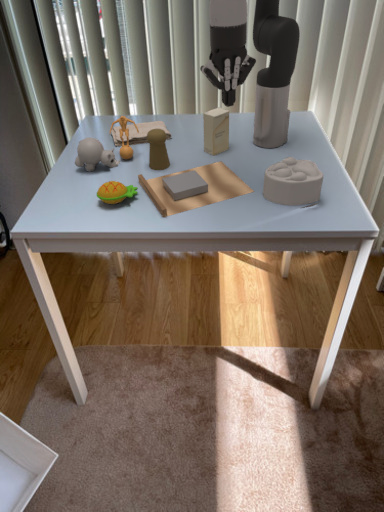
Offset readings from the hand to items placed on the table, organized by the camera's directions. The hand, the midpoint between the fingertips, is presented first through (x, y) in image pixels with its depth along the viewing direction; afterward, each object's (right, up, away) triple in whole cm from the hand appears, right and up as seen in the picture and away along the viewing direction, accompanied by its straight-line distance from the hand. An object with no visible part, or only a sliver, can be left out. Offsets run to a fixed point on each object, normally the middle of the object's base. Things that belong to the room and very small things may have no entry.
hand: (228, 105), depth 95 cm
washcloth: (-25, +3, +38) cm, 45 cm away
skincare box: (-1, -5, +26) cm, 26 cm away
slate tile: (-6, -16, +10) cm, 19 cm away
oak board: (-8, -18, +11) cm, 22 cm away
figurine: (-27, -6, +26) cm, 38 cm away
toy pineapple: (-27, -21, +8) cm, 35 cm away
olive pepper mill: (-17, -10, +20) cm, 29 cm away
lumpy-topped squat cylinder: (+15, -20, +6) cm, 26 cm away
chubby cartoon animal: (-34, -10, +22) cm, 42 cm away
